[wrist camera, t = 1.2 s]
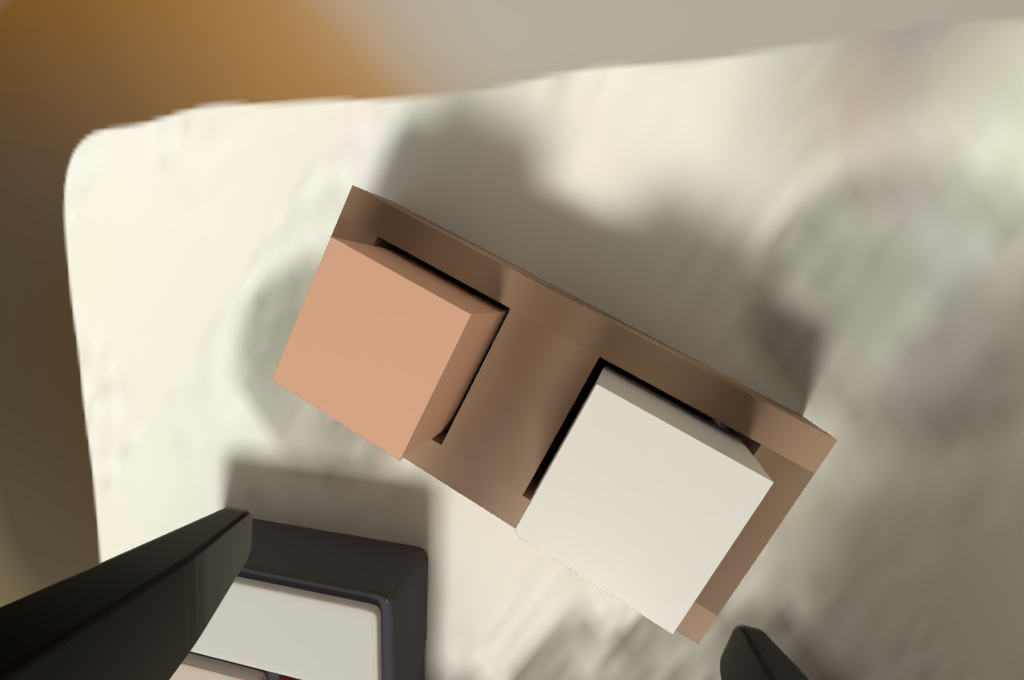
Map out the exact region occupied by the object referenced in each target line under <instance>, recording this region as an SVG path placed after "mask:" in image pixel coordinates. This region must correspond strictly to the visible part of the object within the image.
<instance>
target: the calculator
mask: <svg viewBox="0 0 1024 680" xmlns="http://www.w3.org/2000/svg"><path fill="white" fill-rule="evenodd" d="M427 580H428V557H427V554H426V552H425V551H424V550H423V549H422V548H420V547H416V546H410V545H405V544H399V543H393V542H387V541H381V540H375V539H369V538H363V537H358V536H352V535H346V534H340V533H334V532H328V531H322V530H316V529H310V528H305V527H299V526H293V525H287V524H281V523H275V522H269V521H263V520H257V519H252V545H251V551H250V554H249V557H248V559H247V561H246V562H245V564H244V566H243V567H242V569H241V571H240V572H239V574H238V576H237V577H236V579H235V581H234V582H233V584H232V586H231V587H230V589H229V590H228V592H227V594H226V595H225V597H224V599H223V600H222V602H221V604H220V605H219V607H218V609H217V610H216V612H215V614H214V615H213V617H212V619H211V620H210V622H209V623H208V625H207V627H206V628H205V630H204V632H203V633H202V635H201V636H200V638H199V639H198V641H197V643H196V644H195V645H194V647H193V648H192V650H191V651H190V652H189V654H188V655H187V657H186V658H185V659H184V661H183V662H182V664H181V665H180V666H179V668H178V669H177V670H176V672H175V673H174V674H173V676H172V677H171V678H170V680H423V650H424V645H425V640H426V627H427Z"/></svg>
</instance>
